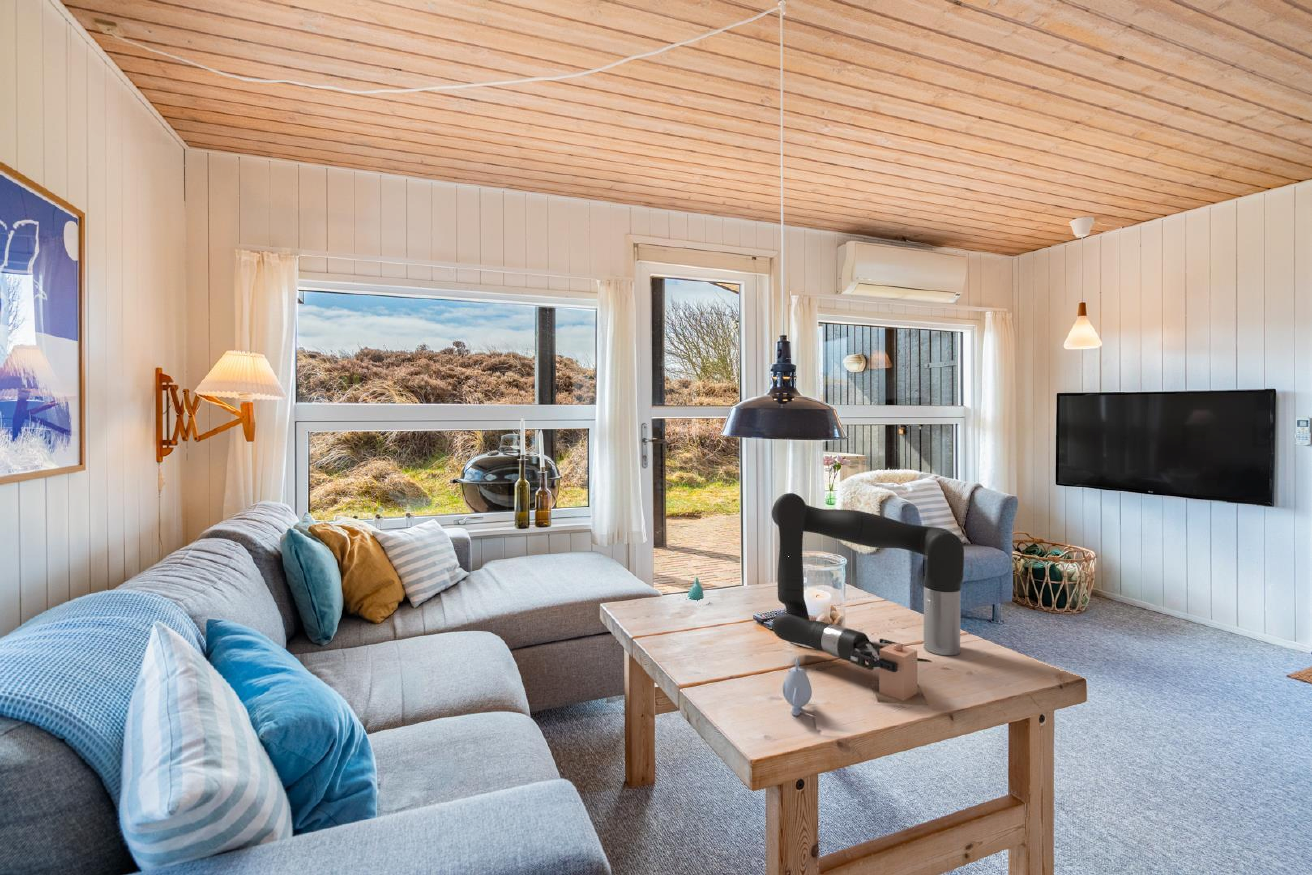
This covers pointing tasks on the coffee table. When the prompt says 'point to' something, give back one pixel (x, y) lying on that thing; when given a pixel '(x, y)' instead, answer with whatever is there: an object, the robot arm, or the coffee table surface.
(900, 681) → the cover
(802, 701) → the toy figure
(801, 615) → the robot arm
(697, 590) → the green christmas tree
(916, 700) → the board
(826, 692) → the coffee table surface
